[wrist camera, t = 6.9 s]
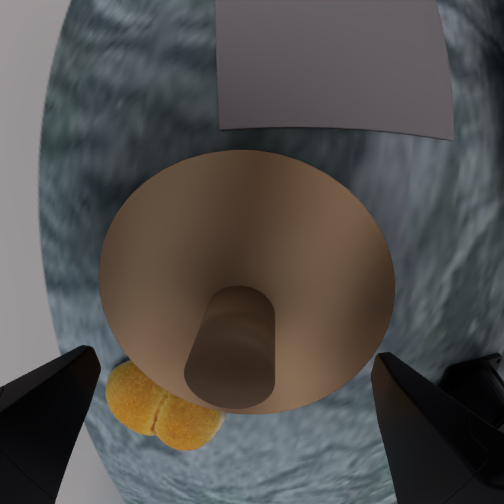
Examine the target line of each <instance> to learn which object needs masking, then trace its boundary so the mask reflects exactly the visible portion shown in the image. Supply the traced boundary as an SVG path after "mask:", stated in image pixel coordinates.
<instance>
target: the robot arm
mask: <svg viewBox="0 0 504 504" xmlns="http://www.w3.org/2000/svg"><path fill="white" fill-rule="evenodd" d="M501 361H502V356H501V355H500V354H496V355H493V356H489V357H486V358H482V359H478V360H474V361H471V362H467V363H462V364H458V365H454V366H451V367H449V368H448V369H447V370H446V372H445V375H444V377H443V379H442V381H441V384H440V386H439V388H438V387H437V386H436V385H434V384H433V383H432V382H430V381H429V380H427V379H426V378H425V377H423V376H422V375H421V374H419V373H418V372H416V371H415V370H414V369H412V368H411V367H410V366H408V365H407V364H406V363H404V362H403V361H401V360H400V359H399V358H397V357H396V356H395V355H393V354H392V353H390V352H385V353H378V354H377V355H376V357H375V361H374V365H373V369H372V373H371V382H372V388H373V394H374V400H375V407H376V414H377V420H378V424H379V428H380V432H381V436H382V439H383V443H384V447H385V451H386V455H387V459H388V463H389V467H390V471H391V476H392V480H393V484H394V489H395V493H396V498H397V503H398V504H504V381H503V380H502V379H501V377H500V376H499V374H498V373H497V372H496V371H497V369H498V367H499V365H500V363H501ZM100 372H101V365H100V362H99V360H98V358H97V355H96V353H95V350H94V348H93V347H91V346H86V345H81V346H79V347H77V348H75V349H73V350H71V351H69V352H68V353H66V354H64V355H62V356H60V357H58V358H56V359H54V360H52V361H50V362H48V363H46V364H45V365H43V366H41V367H39V368H37V369H35V370H33V371H31V372H29V373H27V374H25V375H23V376H21V377H19V378H17V379H15V380H13V381H11V382H10V383H8V384H6V385H5V386H2V387H0V504H55V500H56V498H57V494H58V491H59V488H60V485H61V482H62V479H63V476H64V473H65V470H66V467H67V464H68V461H69V459H70V456H71V453H72V450H73V448H74V445H75V442H76V440H77V437H78V434H79V432H80V429H81V427H82V424H83V422H84V419H85V417H86V415H87V412H88V410H89V407H90V404H91V401H92V397H93V394H94V391H95V388H96V384H97V381H98V378H99V375H100Z"/></svg>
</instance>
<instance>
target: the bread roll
mask: <svg viewBox="0 0 504 504" xmlns="http://www.w3.org/2000/svg"><path fill="white" fill-rule="evenodd" d="M106 399H107V403H108V406H109V408H110V410H111V412H112V413H113V414H114V416H115V417H116V418H117V419H118V420H119V421H120V422H121V423H123V424H124V425H125V426H127V427H129V428H130V429H132V430H133V431H135V432H137V433H140V434H143V435H157V436H158V438H159V439H160V440H161V441H163V442H164V443H165V444H167V445H168V446H170V447H172V448H175V449H177V450H195V449H197V448H199V447H201V446H203V445H204V444H205V443H207V442H209V441H211V439H212V438H213V437H214V435H215V434H216V432H217V431H218V430H219V429H220V427H221V425H222V423H223V422H224V420H225V416H226V412H222V411H217V410H213V409H209V408H205V407H202V406H199V405H196V404H194V403H191V402H189V401H186V400H184V399H182V398H180V397H178V396H176V395H174V394H172V393H170V392H169V391H167V390H166V389H164V388H162V387H161V386H159V385H158V384H157V383H155V382H154V381H153V380H151V379H150V378H149V377H148V376H146V375H145V374H144V373H143V372H142V371H141V370H140V369H139V368H138V367H137V366H136V365H135V364H134V363H133V362H132V361H131V360H129V361H127V362H124V363H122V364H120V365H119V366H117V367H116V368H114V369H113V371H112V372H111V373H110V375H109V377H108V381H107V384H106Z"/></svg>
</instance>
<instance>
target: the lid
mask: <svg viewBox="0 0 504 504" xmlns="http://www.w3.org/2000/svg"><path fill="white" fill-rule="evenodd" d="M99 290H100V297H101V302H102V306H103V310H104V313H105V316H106V319H107V321H108V324H109V326H110V328H111V330H112V332H113V334H114V336H115V338H116V340H117V342H118V343H119V345H120V346H121V348H122V349H123V351H124V352H125V353H126V355H127V356H128V357H129V358H130V359H131V361H132V362H133V363H134V364H135V365H136V366H137V367H138V368H139V369H140V370H141V371H142V372H143V373H144V374H145V375H146V376H148V377H149V378H150V379H151V380H153V381H154V382H155V383H157V384H158V385H159V386H161V387H162V388H164V389H166V390H167V391H169V392H170V393H172V394H174V395H176V396H178V397H180V398H182V399H184V400H186V401H189V402H191V403H194V404H196V405H199V406H202V407H205V408H209V409H213V410H217V411H222V412H228V413H236V414H269V413H278V412H283V411H288V410H292V409H296V408H299V407H302V406H305V405H308V404H311V403H313V402H315V401H318V400H320V399H322V398H324V397H326V396H328V395H330V394H331V393H333V392H335V391H336V390H338V389H339V388H341V387H342V386H343V385H345V384H346V383H347V382H349V381H350V380H351V379H352V378H353V377H354V376H355V375H357V374H358V373H359V372H360V371H361V370H362V369H363V367H364V366H365V365H366V364H367V363H368V361H369V360H370V359H371V358H372V356H373V355H374V353H375V352H376V350H377V348H378V347H379V345H380V344H381V342H382V340H383V337H384V335H385V333H386V331H387V328H388V325H389V322H390V318H391V315H392V311H393V304H394V296H395V278H394V270H393V265H392V259H391V255H390V252H389V249H388V247H387V244H386V241H385V238H384V236H383V234H382V233H381V231H380V229H379V227H378V225H377V223H376V221H375V220H374V218H373V217H372V216H371V214H370V213H369V212H368V210H367V209H366V208H365V207H364V205H363V204H362V203H361V202H360V201H359V200H358V199H357V198H356V197H355V196H354V195H353V194H352V193H351V192H350V191H349V190H348V189H347V188H346V187H344V186H343V185H342V184H340V183H339V182H337V181H336V180H335V179H333V178H332V177H330V176H329V175H327V174H326V173H324V172H322V171H320V170H318V169H316V168H314V167H312V166H310V165H308V164H306V163H304V162H302V161H299V160H296V159H293V158H290V157H287V156H284V155H281V154H276V153H270V152H264V151H258V150H229V151H221V152H213V153H206V154H203V155H199V156H196V157H192V158H189V159H185V160H183V161H181V162H178V163H176V164H174V165H172V166H170V167H168V168H165V169H163V170H162V171H160V172H159V173H157V174H156V175H154V176H153V177H151V178H150V179H148V180H147V181H145V182H144V183H143V184H142V185H141V186H140V187H139V188H138V189H137V190H136V191H135V192H134V193H132V194H131V195H130V197H129V198H128V199H127V200H126V202H125V203H124V204H123V205H122V207H121V208H120V209H119V211H118V212H117V214H116V216H115V218H114V219H113V221H112V223H111V225H110V227H109V229H108V232H107V234H106V237H105V240H104V242H103V246H102V251H101V256H100V261H99Z"/></svg>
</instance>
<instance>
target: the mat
mask: <svg viewBox="0 0 504 504" xmlns="http://www.w3.org/2000/svg"><path fill="white" fill-rule="evenodd" d="M215 18H216V60H217V90H218V115H219V130H236V129H256V128H333V129H353V130H367V131H379V132H390V133H399V134H408V135H415V136H423V137H430V138H436V139H442V140H452V141H454V114H453V98H452V87H451V77H450V69H449V62H448V55H447V49H446V43H445V38H444V33H443V28H442V23H441V19H440V15H439V11H438V7H437V3H436V0H215Z"/></svg>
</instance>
